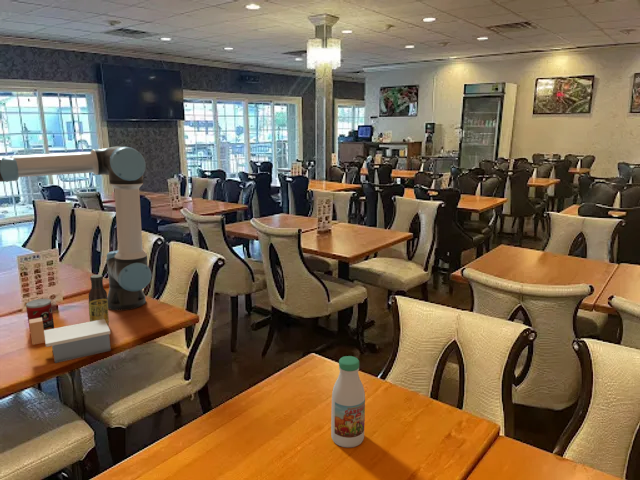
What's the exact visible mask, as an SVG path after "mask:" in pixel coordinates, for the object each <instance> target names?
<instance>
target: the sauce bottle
mask: <svg viewBox="0 0 640 480" xmlns="http://www.w3.org/2000/svg"><path fill="white" fill-rule="evenodd" d="M89 279H90V282H91V283H90V284H91V288H90V290H89V293H88V314H89V315H88V316H89V322H91V321H96V320H101V319H105V321H106V323H107V325H108V327H109V322H110V321H109V308H108V300H107V296H108V293H107V290H106V289H105V288H104V281H103V280H104V276H103V274H94V275H93V274H92V275H91V276H90V278H89Z"/></svg>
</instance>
